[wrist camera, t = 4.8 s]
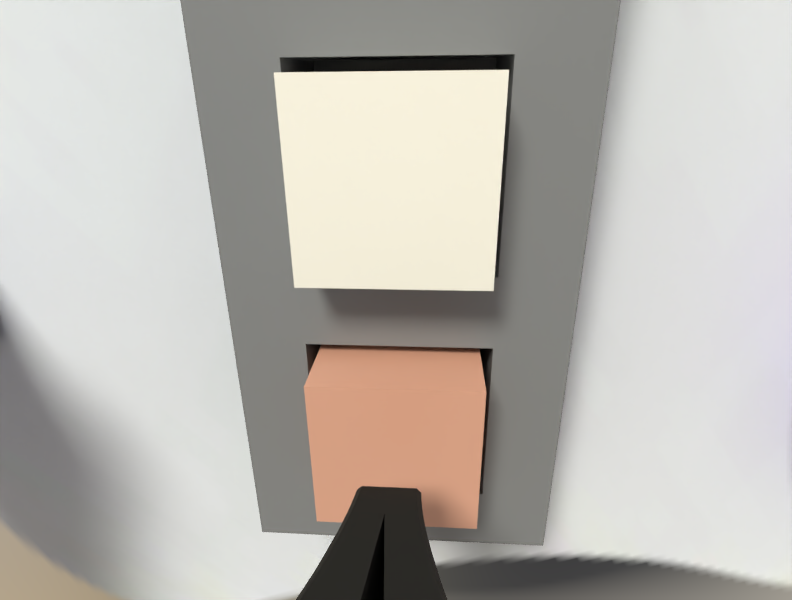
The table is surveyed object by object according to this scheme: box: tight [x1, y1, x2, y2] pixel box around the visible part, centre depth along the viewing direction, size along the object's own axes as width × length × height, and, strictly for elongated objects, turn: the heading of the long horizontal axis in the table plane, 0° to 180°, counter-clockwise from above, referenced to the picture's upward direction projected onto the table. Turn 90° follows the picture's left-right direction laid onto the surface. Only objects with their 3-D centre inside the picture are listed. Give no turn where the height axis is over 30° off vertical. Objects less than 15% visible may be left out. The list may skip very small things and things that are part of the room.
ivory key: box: [274, 70, 509, 291], centre depth 12 cm, size 4×4×3 cm
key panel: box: [180, 0, 620, 546], centre depth 14 cm, size 9×23×4 cm, turn 1°
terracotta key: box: [304, 344, 486, 529], centre depth 15 cm, size 4×4×3 cm
